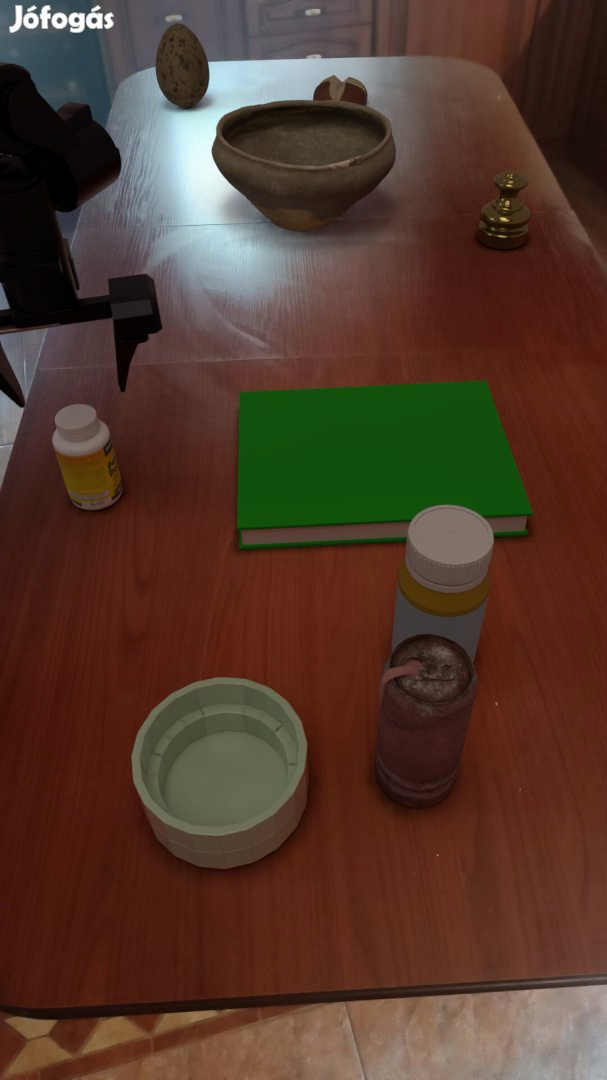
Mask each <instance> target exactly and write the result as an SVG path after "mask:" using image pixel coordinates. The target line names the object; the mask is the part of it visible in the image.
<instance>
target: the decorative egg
mask: <svg viewBox="0 0 607 1080" xmlns="http://www.w3.org/2000/svg"><path fill="white" fill-rule="evenodd" d="M154 66H155V76H156V82H157V85H158V88H159V90H160V92H161V93H162V95H163V96H164V97H165V99H166V100H167V101H168V102H169V103H171V104H172V105H174V106H176V107H179V108H181V109H188V108H193V107H195V106H197V105H198V104H199V103H201V101H202V100H203V98H204V97H205V95H206V94H207V91H208V88H209V86H210V85H209V84H210V77H211V76H210V75H211V73H210V65H209V61H208V57H207V54H206V52H205V49H204V47H203V45H202V43H201V42H200V40H199V38H198V37H197V36H196V34H195V33H194V32H193V30H192V29H190V27H188V26H186V25H185V24H183V23H179V22H176V23H172V24H171V25H169V26H168V27H167V28H166V29H165V30H164V33H163V34H162V36H161V38H160V40H159V42H158V46H157V50H156V55H155V65H154Z"/></svg>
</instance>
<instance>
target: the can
mask: <svg viewBox="0 0 607 1080" xmlns="http://www.w3.org/2000/svg"><path fill="white" fill-rule="evenodd" d="M478 681H479V677H478V673H477V669H476V665H475V664H474V662H473V663H472V659H471V658H470V656H469V655H468V653H467V652H466V650H465V649H464V648H463V647H462V646H460V645H459V644H458V643H457V642H455V641H453V640H451V639H449V638H447V637H445V636H441V635H436V634H431V633H430V634H417V635H414V636H411V637H409V638H406V639H405V640H403V641H402V642H400V643H399V644H398V645H397V646H396V647H395V648H394V649H393V650H392V649H391V650H390V652H389V653H388V654H387V656H386V658H385V660H384V662H383V667H382V671H381V678H380V682H379V689H378V702H379V703H378V704H379V707H378V720H377V732H376V746H375V759H374V772H375V779H376V781H377V782H378V785H379V787H380V789H381V790H382V791H383V792H384V793H385V794H386V795H387V797H389V798H390V799H391V800H393V801H395V802H396V803H398V804H400V805H401V806H404V807H410V808H414V809H419V808H420V809H421V808H431V807H432V806H435V805H437V804H440V803H441V802H442V801H444V800H445V799H446V798H447V797H448V796H449V795H450V794H451V793H452V790H453V789H454V786H455V785H456V781H457V776H458V772H459V769H460V768H459V767H460V763H461V759H462V754H463V750H464V747H465V742H466V737H467V734H468V729H469V725H470V721H471V716H472V712H473V708H474V704H475V699H476V695H477V691H478Z"/></svg>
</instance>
